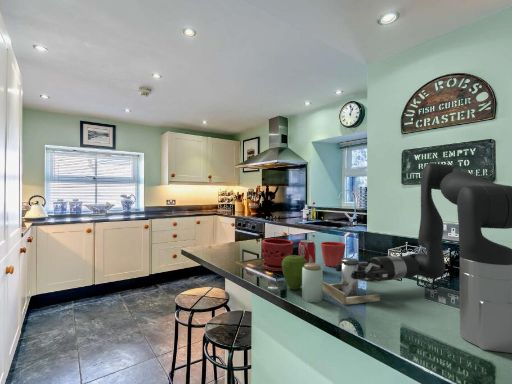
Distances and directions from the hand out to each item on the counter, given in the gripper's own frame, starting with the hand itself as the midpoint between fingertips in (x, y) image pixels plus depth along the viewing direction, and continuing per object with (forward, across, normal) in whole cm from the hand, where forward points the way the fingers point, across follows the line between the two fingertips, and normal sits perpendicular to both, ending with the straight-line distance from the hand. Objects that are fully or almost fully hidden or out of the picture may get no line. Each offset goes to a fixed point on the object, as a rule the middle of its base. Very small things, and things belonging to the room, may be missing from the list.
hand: (344, 271), depth 84 cm
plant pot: (+9, -34, +8) cm, 36 cm away
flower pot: (-18, -35, +8) cm, 40 cm away
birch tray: (-2, 0, +8) cm, 8 cm away
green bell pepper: (+12, -10, +8) cm, 17 cm away
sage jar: (+11, -1, +8) cm, 13 cm away
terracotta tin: (-18, -16, +8) cm, 25 cm away
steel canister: (-2, 0, +8) cm, 8 cm away
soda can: (-3, -31, +8) cm, 32 cm away
